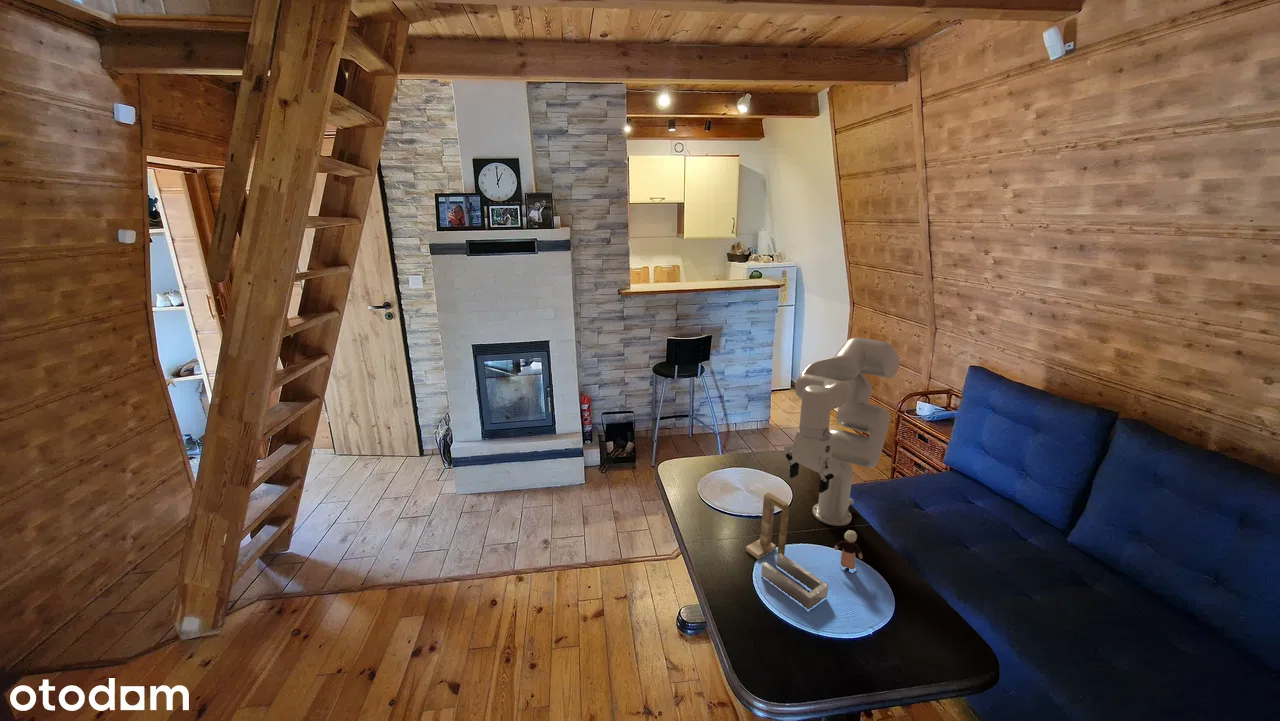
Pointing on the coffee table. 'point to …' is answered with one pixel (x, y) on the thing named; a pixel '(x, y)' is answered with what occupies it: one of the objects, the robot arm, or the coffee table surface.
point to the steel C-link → (791, 587)
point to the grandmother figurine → (849, 549)
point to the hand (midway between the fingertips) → (808, 483)
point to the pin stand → (770, 528)
